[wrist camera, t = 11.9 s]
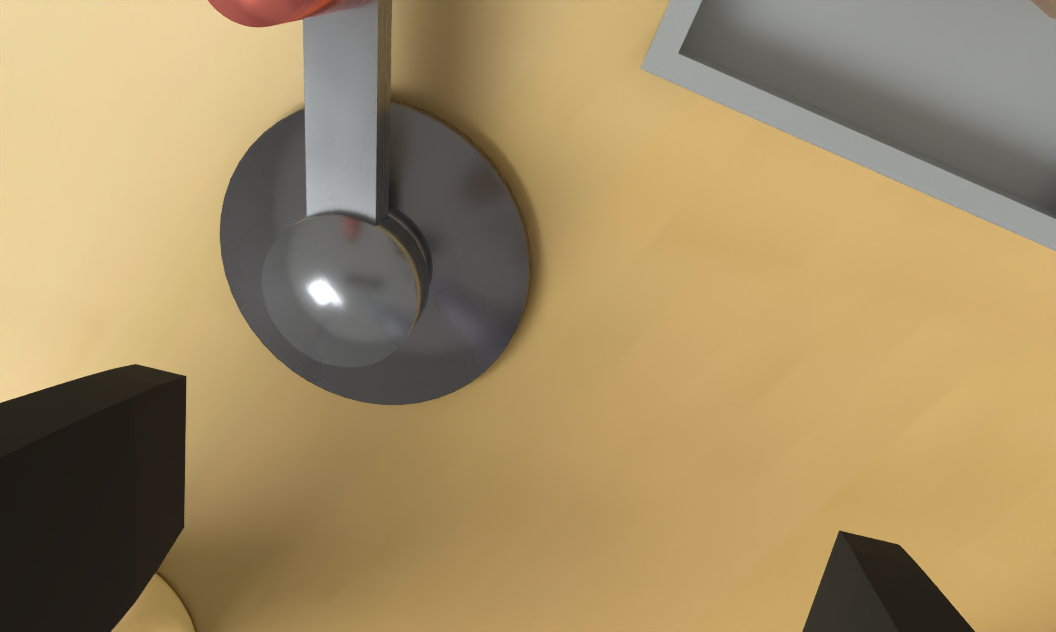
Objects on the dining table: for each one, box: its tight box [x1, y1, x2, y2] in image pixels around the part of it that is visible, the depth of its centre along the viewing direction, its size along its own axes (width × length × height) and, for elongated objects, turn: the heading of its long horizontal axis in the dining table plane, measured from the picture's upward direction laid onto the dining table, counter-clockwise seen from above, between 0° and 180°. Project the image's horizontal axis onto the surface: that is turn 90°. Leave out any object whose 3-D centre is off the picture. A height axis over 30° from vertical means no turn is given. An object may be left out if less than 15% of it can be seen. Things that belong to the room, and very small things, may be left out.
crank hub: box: [220, 101, 531, 405], centre depth 20 cm, size 7×7×1 cm
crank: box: [208, 0, 429, 367], centre depth 16 cm, size 9×3×4 cm, turn 175°
